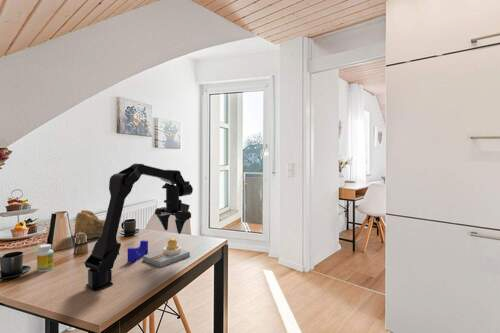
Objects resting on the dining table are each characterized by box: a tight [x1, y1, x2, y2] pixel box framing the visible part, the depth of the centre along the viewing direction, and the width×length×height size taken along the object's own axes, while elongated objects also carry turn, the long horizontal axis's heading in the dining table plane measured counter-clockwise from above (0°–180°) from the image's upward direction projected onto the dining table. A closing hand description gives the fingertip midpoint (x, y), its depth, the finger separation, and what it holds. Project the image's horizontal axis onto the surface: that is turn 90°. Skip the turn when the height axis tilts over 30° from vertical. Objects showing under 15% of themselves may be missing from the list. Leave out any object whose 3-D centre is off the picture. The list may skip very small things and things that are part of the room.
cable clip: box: [127, 239, 149, 263], centre depth 127 cm, size 12×4×6 cm, turn 172°
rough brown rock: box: [73, 209, 105, 240], centre depth 156 cm, size 23×17×15 cm
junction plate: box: [142, 244, 191, 268], centre depth 126 cm, size 16×12×4 cm
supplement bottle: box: [36, 243, 55, 273], centre depth 112 cm, size 5×5×10 cm
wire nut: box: [167, 238, 178, 250], centre depth 128 cm, size 4×4×6 cm
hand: (172, 232), depth 128 cm, fingers open, 9 cm apart
